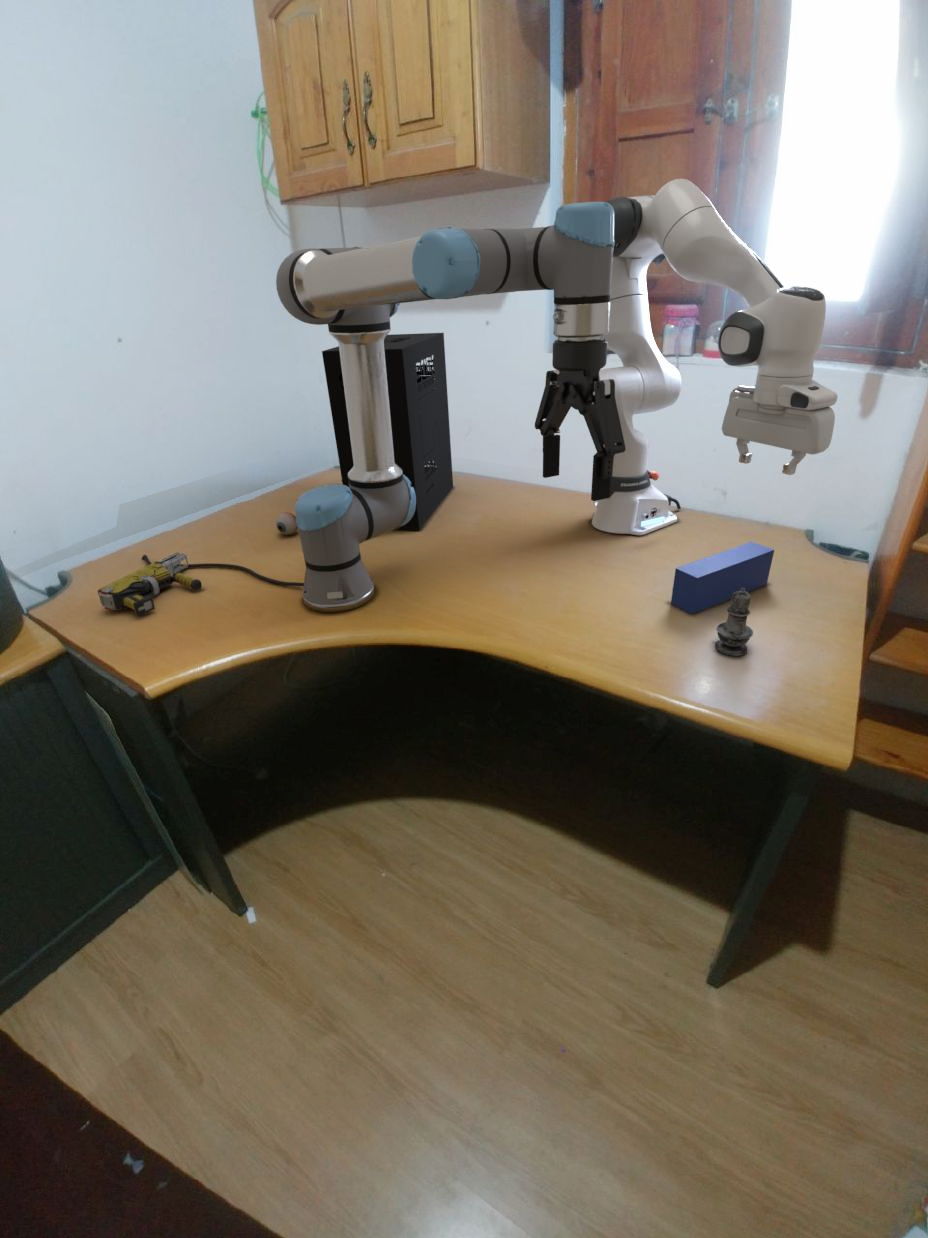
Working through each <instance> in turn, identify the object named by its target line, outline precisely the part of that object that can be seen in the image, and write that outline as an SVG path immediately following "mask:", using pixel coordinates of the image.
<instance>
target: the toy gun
mask: <svg viewBox="0 0 928 1238" xmlns="http://www.w3.org/2000/svg"><path fill="white" fill-rule="evenodd" d="M185 560H186V563H184V564H186V565H184V564H183V563H181V562H182V561H185ZM151 563H152V564H150V565H148V564H147V565H146V566H144V567H142V568H139V569H136V570H135V571H133V572H131V573H129V574H126V575H125V576H123V577H121V578H119V579H116V580H114V581H112V582H110V583H108V584H106V585H104V586H102V587H100V588H98V590H97V594H98V597H99V603H100V604H101V607H102V608H104V610H106V611H107V610H108V611H109V612H110V611H111V612H112V611H113V610H115V611H119V610H126V609H129V608H130V609H132V610H134V612H135V616H136V617H141V616H143V615H145V614H148V613H150V612H152V611H154V610H156V608H155V604H154V599H153V597H155V596H156V595H159V594H160V590H161V589H163V588H166V587H169V586H171V585H173V583H177V584H179V585H181V586H184V587H187V588H188V589H192V591H195V592H196V591H199V590H200V589H201V588H203V587H202V581H201V580H200V579H197V578H193V577H191V576H188V575H187V574H183V573H182V571H183V570H185V569H188V568H189V567H188V564H189V562H188V556H187V554H186V553H183V552H182V553H180V552H178V551H176V552H175V553H173V554H171V555H168V556H166V557H164V558H162V559H161V560H157V561H154V562H151ZM177 565H180V566H177ZM181 565H183V566H181Z"/></svg>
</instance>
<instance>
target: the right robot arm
mask: <svg viewBox="0 0 928 1238" xmlns="http://www.w3.org/2000/svg"><path fill="white" fill-rule="evenodd" d="M604 202H606V203H609V204H610V205H611V206H612V207H613V209H614V241H615V246H614V249H613V260H612V273H611V286H610V316H609V332H608V333H607V334H606V335H604V337H603V338H605V339H606V341H608V344H607V350H609V351H611V352H613V353H615V355H617V356H618V358H619V359H620V361H621V363H622V366H618V367H617V366H616V367H608V368H602V369H600V371H599V377H600V381H601V380H608V379H613V380H614V381H615V400H616V404H617V409H618V414H619V419H620V423H621V428H622V433H623V438H624V443H625V448H626V449H625V452H623V453H618V454H615V455H614V460H613V474H612V477H611V480H610V494H609V498H607V499H602V500H597V501H596V502H595V503H594V504H595V506H596V507H595V511H594V514H593V517H592V520H591V525H592V526H593V527H594V528H595V529H597V530H599V531H601V532H605V533H611V534H623V535H625V534H626V535H632V536H633V535H634V536H645V535H646V534H650V533H652V532H654V531H657V530H660V529H662V528H665V527H668V526H670V525H672V524H675V523H677V522H678V516H677V515H676V514H675V513H674V512H672V511H670V507H671V504H672V502H673V503H674V504H675V506H676V508H677V510H681V508H682V507H681V504H680V502H679V500H678V499H676V498H674V497H672V496H671V495H669V494H666V493H663V492H661V491H660V490H659V489H658V488H656V487H655V486H654V485H652V483H651V480H653V481H658V479H659V478H660V473H659V472H657V471H654V470H651V471H649V470H648V469H647V466H648V458H649V457H648V456H649V447H650V443H649V440H648V438H647V437H646V435H645V434H644V433H643V432H641V431H639V430H638V429H636V428H635V427H634V423H633V417H634V415H639V414H646V413H654V412H657V411H661V410H663V409H666V408H668V407H670V406H672V405H674V404H675V403H676V402H677V400H678V399H679V397H680V394H681V391H682V385H683V383H682V375H681V373H680V372H679V370H678V368H676V367H675V366H674V365H673V364H672V363H670V362H668V360H667V359H666V358H665V357H664V356H663V354H662V353H661V351H660V349H659V348H658V345H657V344H656V341H655V339H654V335H653V330H652V325H651V317H650V316H651V315H650V308H649V296H648V295H649V294H648V287H647V285H648V284H647V271H648V268H649V266H650V264H651V263H652V264H655V265H660V264H663V262H664V261H665V260H666V261H667V263H668V264H669V266H670V268H672V269H673V271H674V272H675V273H676V274H677V275H678V276H679V277H681V278H682V279H684V280H686V281H689V282H692V283H693V282H694V283H699V284H706V285H712V286H717V287H721V288H725V289H728V290H730V291H733V292H734V293H735V294H737V295H738V296H739V297H740V298H741V299H742V300H743V301H744V303H745V304H746V305H747V307H748V308H745V309H741V310H739V311H735V312H733V313H731V314H730V315H729V316H728V317H727V318H726V319H725V320H724V322H723V324H722V325H721V327H720V330H719V333H718V337H717V338H718V339H717V349H718V353H719V356H720V358H721V359H722V361H723V362H724V363H725V364H726V365H728V366H730V367H737V368H742V367H743V368H744V367H752V366H753V367H754V366H757V367H758V368H757V373H756V378H755V383H754V384H755V385H754V386H746V385H738V386H737V387H735V388H733V389H732V391H730V394H729V398H728V403H727V404H728V405H727V407H726V409H725V413H724V416H723V420H722V424H721V431H722V434H723V436H725V437H729V438H735V439H736V442H735V445H736V447H737V450H738V453H739V456H738V463H740V464H744V465H747V464H750V463H751V462H752V457H753V453H752V452H750V451H749V446H748V444H750V443H751V442H753V443H757V444H761V445H765V446H770V447H775V448H779V449H785V450H789V451H791V455H790V456H791V457H793V458H792V459H791V460H790V461H789V462H787V463H783V465H782V471H781V473H782V474H784V475H787V476H792V475H795V473H796V471H797V467H798V465H799V464H800V462H801V461H802V460H803V459H804V458H805V457H806V455H812V456H813V455H817V454H821V453H824V452H825V451H826V450H828V449H829V447H830V445H831V441H832V439H833V438H832V437H833V434H834V429H835V420H836V416H835V410H834V409H833V408H832V406H834V405H836V403H837V401H838V393H837V392H836V391H834V390H832V389H830V388H828V387H826V386H825V385H822V384H821V383H819V382H817V381H815V380H814V379H813V376H814V372H815V368H814V360H815V357H816V355H817V352H818V351H819V348H820V346H821V341H822V336H823V331H824V327H825V320H826V311H827V304H826V296H825V295H824V294H823V292H821V291H820V290H818V289H816V288H814V287H813V288H812V287H807V286H795V285H794V286H793V285H792V286H784V285H783V284H782V283H781V281H780V280H779V279H778V277H776V275H775V274H774V273H773V271H772V270H771V269H770V268H769V267H768V266H767V264H766V263H765V262H764V261H763V259H762V258H760V256H759V255H758V254H757V253H756V252H755V251H754V250H752V249H751V248H750V247H749V246H748V245H747V244H746V243H744V241H742V240H741V239H740V238H739V237H738V236H737V235H736V234H735V233H734V232H733V231H732V229H731V228H730V227H729V226H728V225H727V223H726V222H725V221H724V220H723V218H722V217H721V215H720V214H719V212H718V211H717V209H716V208H715V206H714V205H713V203H712V202H711V201H710V199H709V198H708V197H707V195H706V194H705V193H704V192H703V191H702V190H701V189H700V188H699V187H698V186H697V185H696V184H695V183H693V182H692V181H691V180H689V179H686V178H676V179H675V178H674V179H673V180H670V181H668V182H666V183H665V184H664V185H663V186H661V188H660V189H658V191H656V193H655V195H653V194H645V195H639V196H638V195H635V196H617V197H612V198H610V199H607V200H605V201H604ZM592 404H594V403H592ZM615 445H616V443H615ZM603 446H604V447H605V445H603Z"/></svg>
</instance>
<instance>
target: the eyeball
mask: <svg viewBox="0 0 928 1238" xmlns="http://www.w3.org/2000/svg"><path fill="white" fill-rule="evenodd" d="M275 527H276V529H277V530H278V531H279V532H280V533H281V534H282V535H285V536H286V535H287V536H289V535H293V534H295V533H296V532H297V531H298V527H297V525H296V514H295V513H292V512H287V511H286V512H282V513H280V514H279V515H278V516H277V517H276V520H275Z"/></svg>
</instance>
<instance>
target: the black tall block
mask: <svg viewBox="0 0 928 1238" xmlns="http://www.w3.org/2000/svg"><path fill="white" fill-rule="evenodd" d="M384 350H385V362H386V373H387V384H388V395H389V406H390V417H391V429H392V440H393V451H394V462H395V464H396V465H398V466H399V467H400V468H401V469H402V472H403V475H405V476H406V477H407V478H408V479H409V480H410V482H411V487H413V488H414V491H415V495H416V508H415V512H414V515H413V517H412V518H411V520H410V521H409V522H408V523H406V524H405V525H403V526H401V527H399V528H398V529H396V530H395V531H416V532H417V531H418V532H419V531H421V529H422V528H423V527H424V526H425V524H426V523H427V522H428V520H429V519H430V518H431V516H433V514H434V513H435V511H436V510H437V508H439V506H440V505H441V503H442V502H443V501H444V499H445V498H446V497H447V496H448V494H449V493H450V492H451V490H452V489H453V488H454V480H453V479H454V477H453V463H452V462H453V461H452V447H451V446H452V445H451V429H450V414H449V413H450V411H449V396H448V381H447V366H446V365H447V364H446V350H445V333H444V332H426V333H400V334H399V333H397V334H395V333H394V334H387V336H386V337H385V339H384ZM321 355H322V361H323V367H324V375H325V380H326V386H327V393H328V399H329V405H330V412H331V419H332V425H333V431H334V437H335V445H336V451H337V457H338V464H339V470H340V477H341V484H343V485H346V486H348V487H349V481H348V473H349V471H350V470H351V469H352V468H353V466H354V463H353V455H352V447H351V439H350V431H349V423H348V415H347V407H346V399H345V391H344V383H343V375H342V367H341V359H340V351H339V345H338V346H335V347H332V348H328V349H324V350H322V351H321ZM418 363H419V364H418ZM417 364H418V365H417Z"/></svg>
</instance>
